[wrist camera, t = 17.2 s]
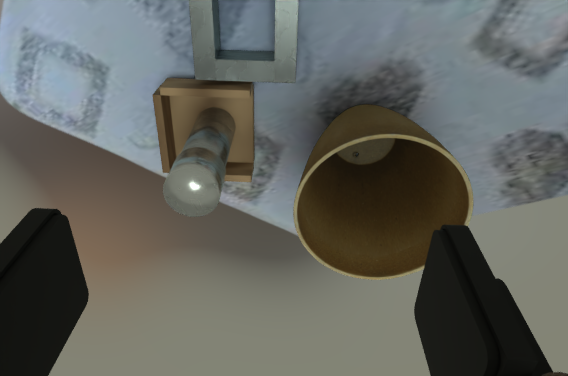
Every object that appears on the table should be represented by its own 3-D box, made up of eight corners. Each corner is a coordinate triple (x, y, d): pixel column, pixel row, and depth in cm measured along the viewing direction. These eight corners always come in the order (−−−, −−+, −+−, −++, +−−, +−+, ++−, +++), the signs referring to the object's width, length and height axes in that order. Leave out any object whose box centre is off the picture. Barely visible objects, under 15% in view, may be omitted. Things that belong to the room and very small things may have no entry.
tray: (253, 77, 48) (249, 90, 45) (254, 164, 54) (251, 182, 50) (162, 74, 49) (151, 87, 45) (173, 160, 54) (163, 178, 51)
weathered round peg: (236, 106, 49) (218, 170, 37) (237, 146, 51) (220, 217, 40) (192, 104, 49) (159, 168, 37) (195, 144, 51) (166, 215, 40)
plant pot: (378, 40, 46) (410, 96, 32) (452, 142, 52) (505, 226, 38) (268, 126, 51) (257, 204, 38) (346, 210, 57) (360, 304, 43)
